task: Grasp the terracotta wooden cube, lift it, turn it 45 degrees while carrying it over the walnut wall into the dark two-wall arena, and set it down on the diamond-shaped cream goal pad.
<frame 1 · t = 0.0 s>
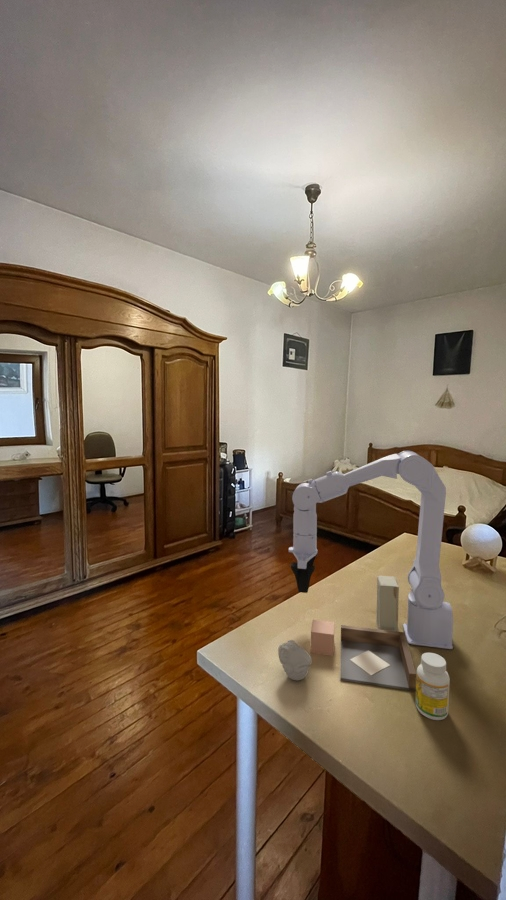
hand: (304, 584, 95), 10 cm above the table, fingers open, 7 cm apart
frog figurine: (294, 677, 77), on the table
cube: (322, 647, 87), on the table
supplement bottle: (431, 710, 69), on the table
arena: (374, 662, 81), on the table
skincare box: (386, 628, 94), on the table
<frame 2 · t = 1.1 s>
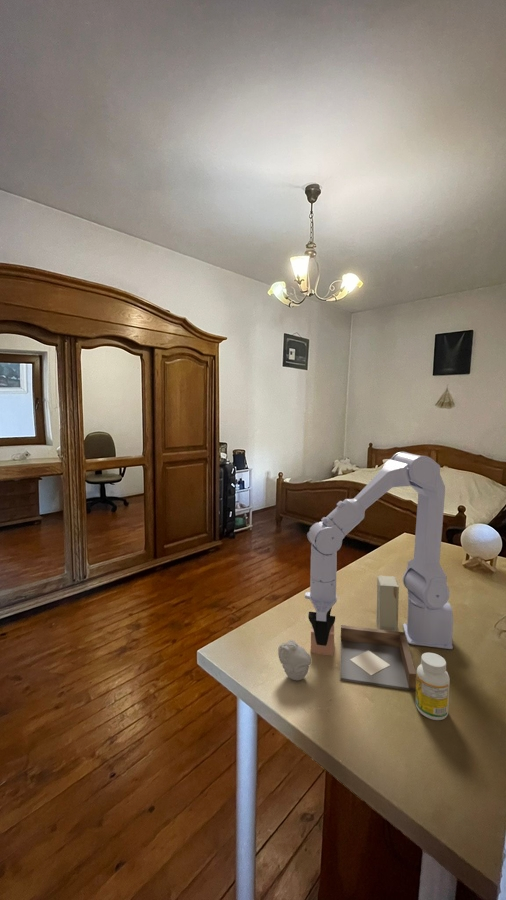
hand: (322, 634, 86), 3 cm above the table, fingers open, 7 cm apart
nothing on the table moved.
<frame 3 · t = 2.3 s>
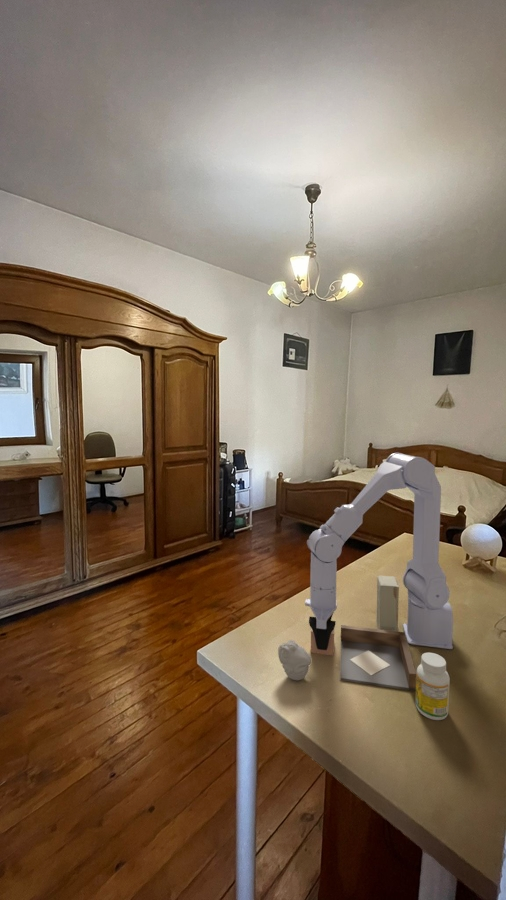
hand: (322, 641, 86), 1 cm above the table, fingers closed on cube, 5 cm apart
cube: (322, 647, 87), on the table, touching gripper
everything else where it was.
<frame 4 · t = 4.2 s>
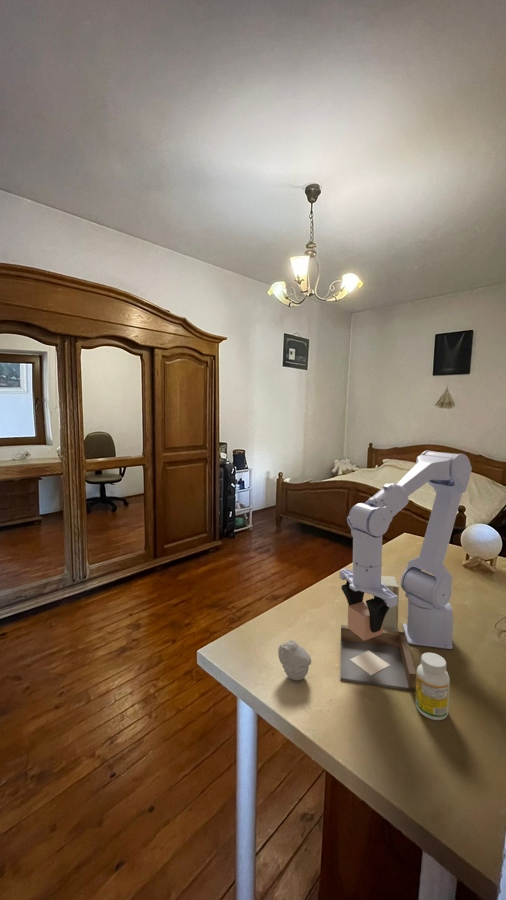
hand: (365, 623, 80), 9 cm above the table, fingers closed on cube, 5 cm apart
cube: (364, 630, 80), point 7 cm above the table, touching gripper
everything else where it was.
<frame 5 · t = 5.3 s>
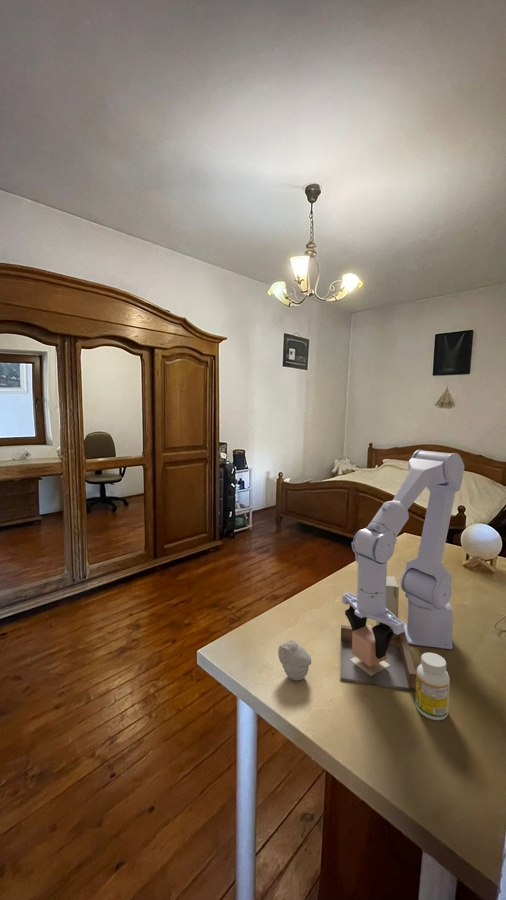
hand: (370, 649, 80), 4 cm above the table, fingers closed on cube, 5 cm apart
cube: (369, 656, 80), point 2 cm above the table, touching gripper
everything else where it was.
when the fingers open (3 cm above the table, at t = 6.3 s): cube drops 1 cm, resting on arena.
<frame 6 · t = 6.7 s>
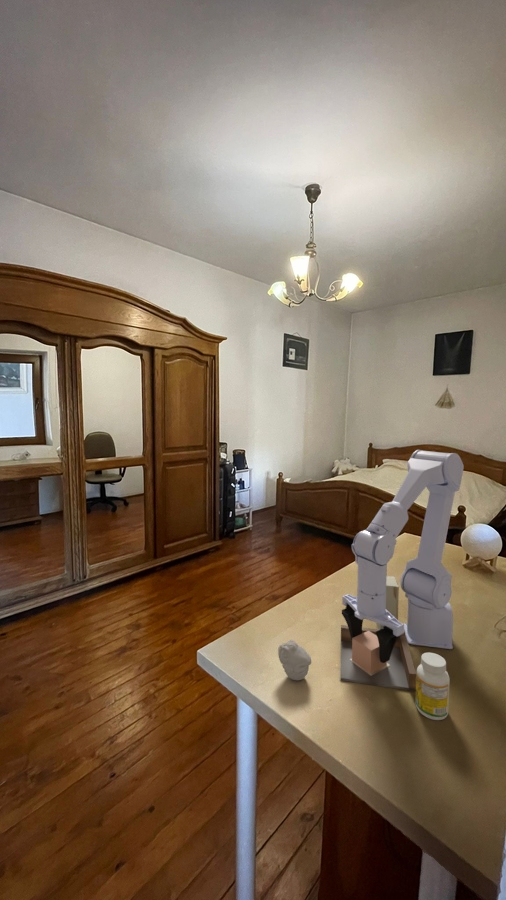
hand: (370, 650, 80), 3 cm above the table, fingers open, 7 cm apart
cube: (369, 662, 80), point 1 cm above the table, touching arena
everything else where it was.
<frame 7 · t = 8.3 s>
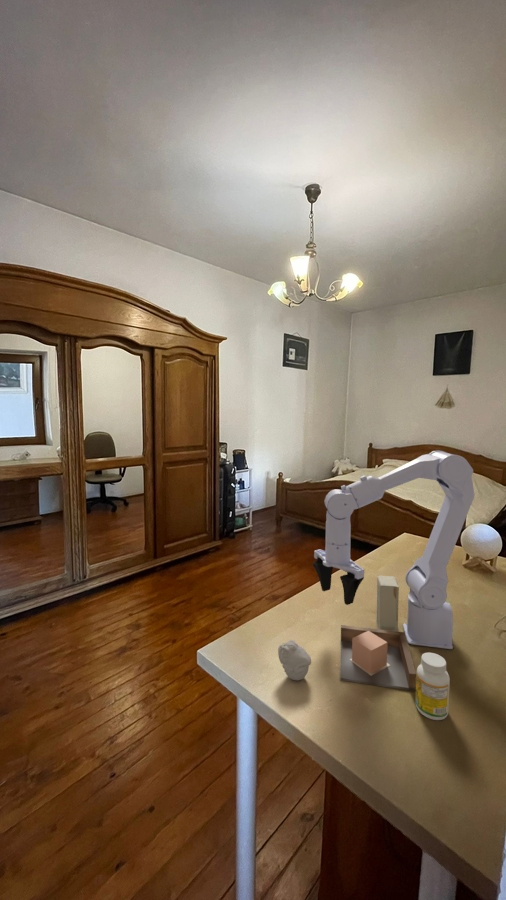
hand: (337, 596, 91), 9 cm above the table, fingers open, 7 cm apart
nothing on the table moved.
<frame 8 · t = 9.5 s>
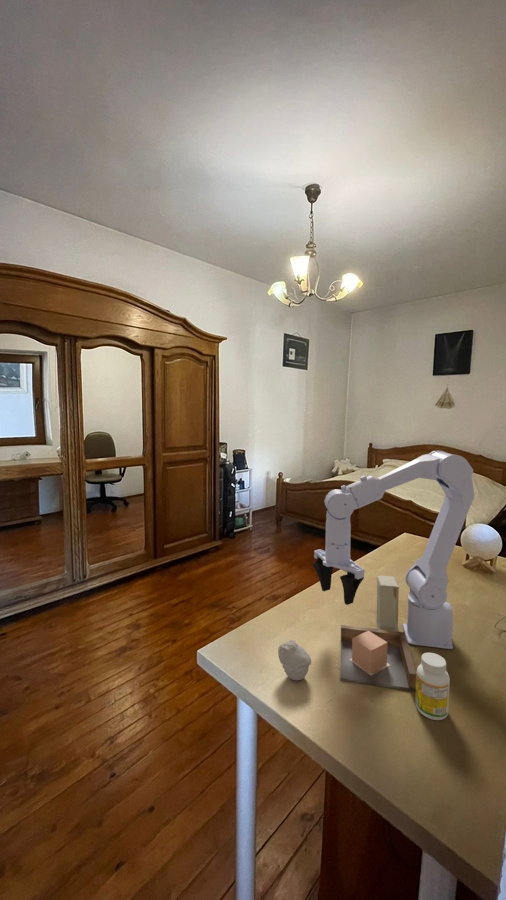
hand: (337, 596, 91), 9 cm above the table, fingers open, 7 cm apart
nothing on the table moved.
at the end: cube 0.1 cm from the target spot on the arena, point 0.6 cm above the arena's base; cube tilted 0°; the gripper is holding nothing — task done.
